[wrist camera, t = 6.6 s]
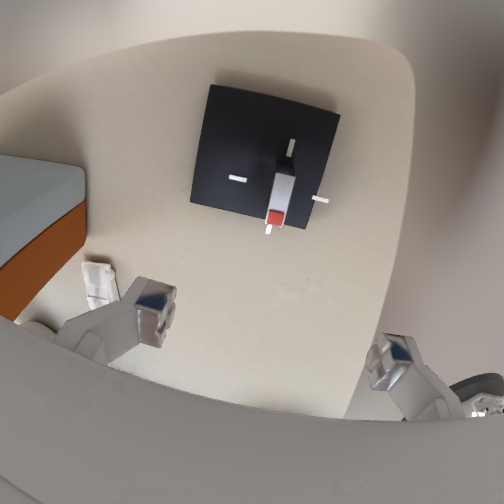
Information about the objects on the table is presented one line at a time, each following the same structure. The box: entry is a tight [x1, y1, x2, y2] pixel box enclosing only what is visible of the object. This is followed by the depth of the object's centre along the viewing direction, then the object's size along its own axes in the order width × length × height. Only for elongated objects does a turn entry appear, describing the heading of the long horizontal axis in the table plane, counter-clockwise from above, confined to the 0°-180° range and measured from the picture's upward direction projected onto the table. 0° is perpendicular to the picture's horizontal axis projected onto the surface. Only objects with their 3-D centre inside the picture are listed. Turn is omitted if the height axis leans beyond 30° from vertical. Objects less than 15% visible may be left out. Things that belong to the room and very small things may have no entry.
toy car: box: [81, 261, 120, 310], centre depth 32 cm, size 5×8×2 cm, turn 177°
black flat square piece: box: [190, 84, 340, 234], centre depth 24 cm, size 11×11×2 cm
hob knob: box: [264, 163, 296, 228], centre depth 22 cm, size 4×1×3 cm, turn 169°
